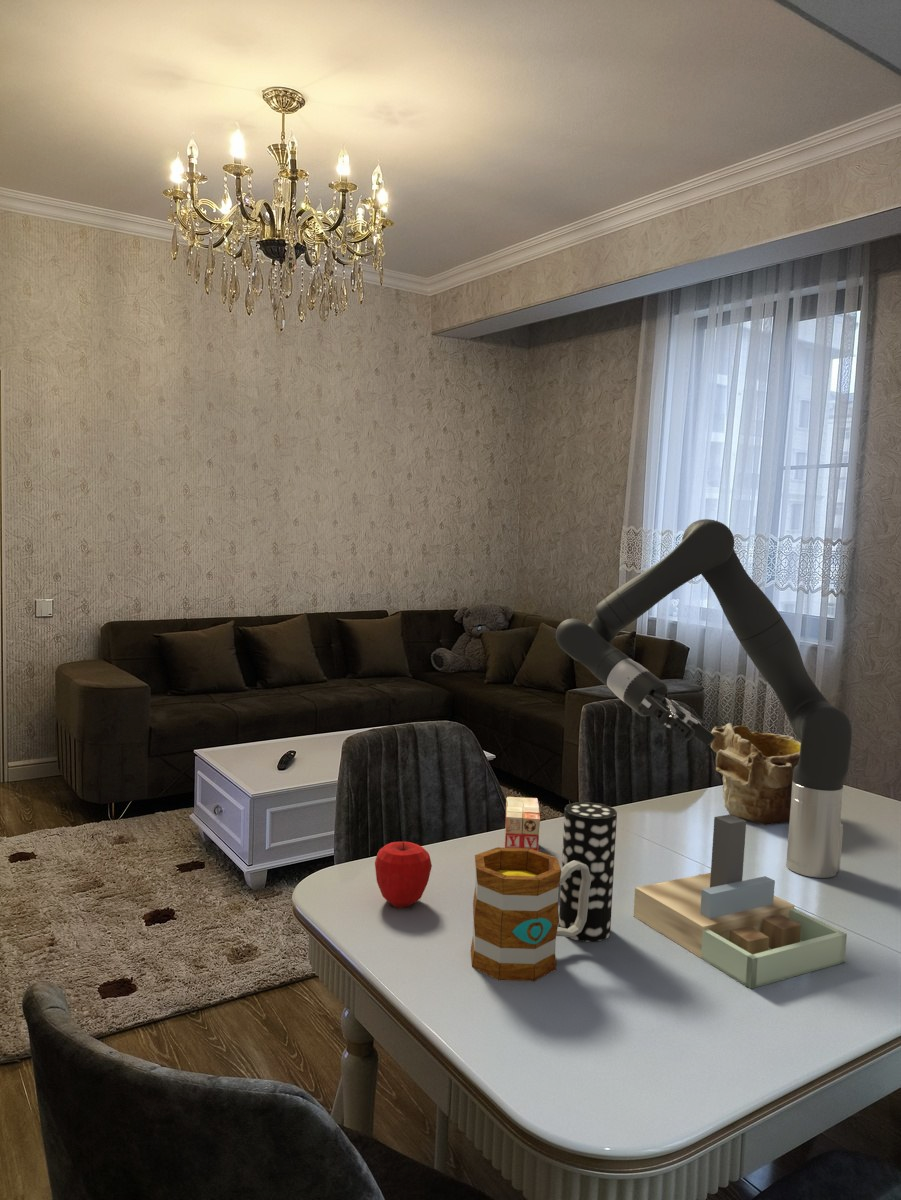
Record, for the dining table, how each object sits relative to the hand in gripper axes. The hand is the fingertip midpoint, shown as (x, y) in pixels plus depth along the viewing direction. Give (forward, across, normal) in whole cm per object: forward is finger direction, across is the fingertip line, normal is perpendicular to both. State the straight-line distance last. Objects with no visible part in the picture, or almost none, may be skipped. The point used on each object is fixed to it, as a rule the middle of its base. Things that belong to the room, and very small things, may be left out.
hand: (701, 738), depth 158 cm
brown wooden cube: (+27, -8, +20) cm, 34 cm away
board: (+20, -1, +24) cm, 31 cm away
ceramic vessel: (-2, +60, +17) cm, 62 cm away
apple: (-14, -31, +49) cm, 60 cm away
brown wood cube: (+28, -1, +17) cm, 33 cm away
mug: (+11, -31, +37) cm, 49 cm away
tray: (+32, -6, +19) cm, 38 cm away
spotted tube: (+10, -18, +34) cm, 39 cm away
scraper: (+20, -3, +18) cm, 28 cm away
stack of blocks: (-15, -1, +42) cm, 44 cm away
